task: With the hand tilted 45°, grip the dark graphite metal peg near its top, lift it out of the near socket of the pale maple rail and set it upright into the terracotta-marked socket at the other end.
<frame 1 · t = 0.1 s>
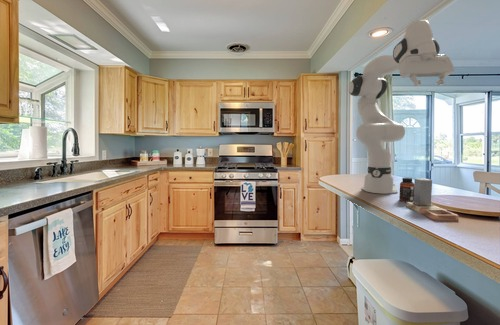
hand: (429, 85, 101), 52 cm above the countertop, tool tilted 20°, fingers open, 8 cm apart
socket rail: (429, 212, 102), on the countertop
graphite peg: (421, 209, 108), resting in socket rail
supplement bottle: (406, 201, 121), on the countertop
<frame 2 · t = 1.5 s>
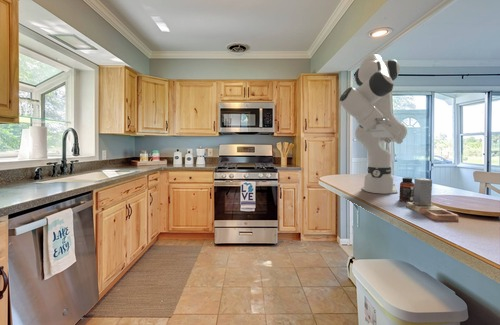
hand: (394, 142, 106), 29 cm above the countertop, tool tilted 45°, fingers open, 8 cm apart
nothing on the countertop moved.
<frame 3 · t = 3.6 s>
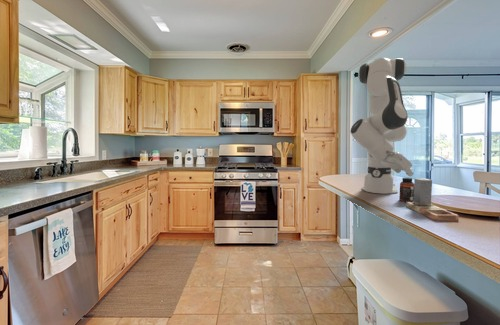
hand: (405, 173, 107), 16 cm above the countertop, tool tilted 45°, fingers open, 8 cm apart
nothing on the countertop moved.
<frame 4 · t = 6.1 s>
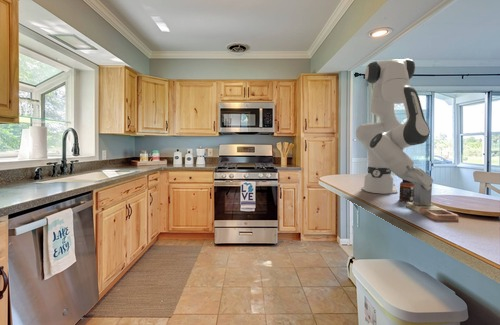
hand: (424, 187, 107), 9 cm above the countertop, tool tilted 45°, fingers closed on graphite peg, 4 cm apart
graphite peg: (421, 209, 108), resting in socket rail, touching gripper
everything else where it was.
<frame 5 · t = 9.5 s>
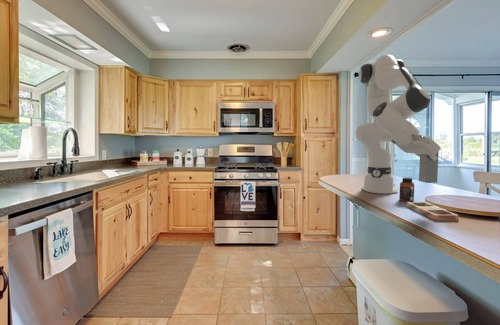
hand: (430, 159, 102), 22 cm above the countertop, tool tilted 45°, fingers closed on graphite peg, 4 cm apart
graphite peg: (427, 181, 103), point 13 cm above the countertop, touching gripper
everything else where it was.
when the fingers open (11 cm above the countertop, at t = 13.2 s): graphite peg drops 1 cm, resting in socket rail.
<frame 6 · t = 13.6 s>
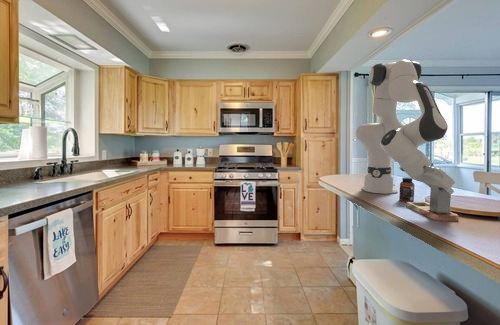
hand: (442, 190, 96), 11 cm above the countertop, tool tilted 45°, fingers open, 8 cm apart
graphite peg: (439, 217, 97), resting in socket rail
everything else where it was.
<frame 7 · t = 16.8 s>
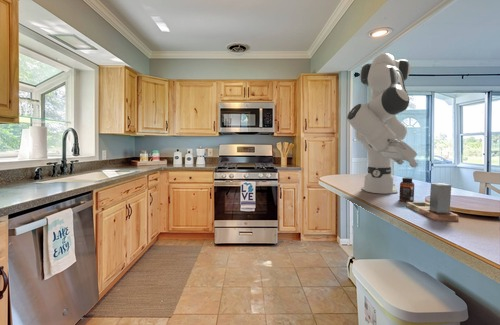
hand: (408, 164, 96), 21 cm above the countertop, tool tilted 45°, fingers open, 8 cm apart
nothing on the countertop moved.
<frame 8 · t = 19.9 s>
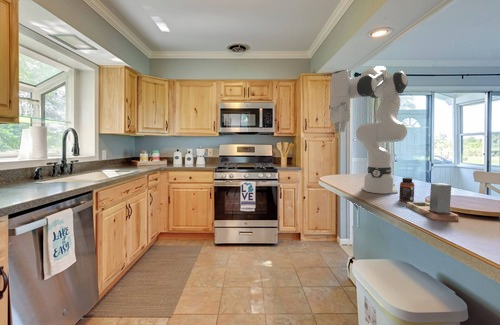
hand: (339, 132, 125), 34 cm above the countertop, tool pointing down, fingers open, 8 cm apart
nothing on the countertop moved.
at the end: graphite peg 0.1 cm from the target spot, resting in socket rail; graphite peg tilted 0°; the gripper is holding nothing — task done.
